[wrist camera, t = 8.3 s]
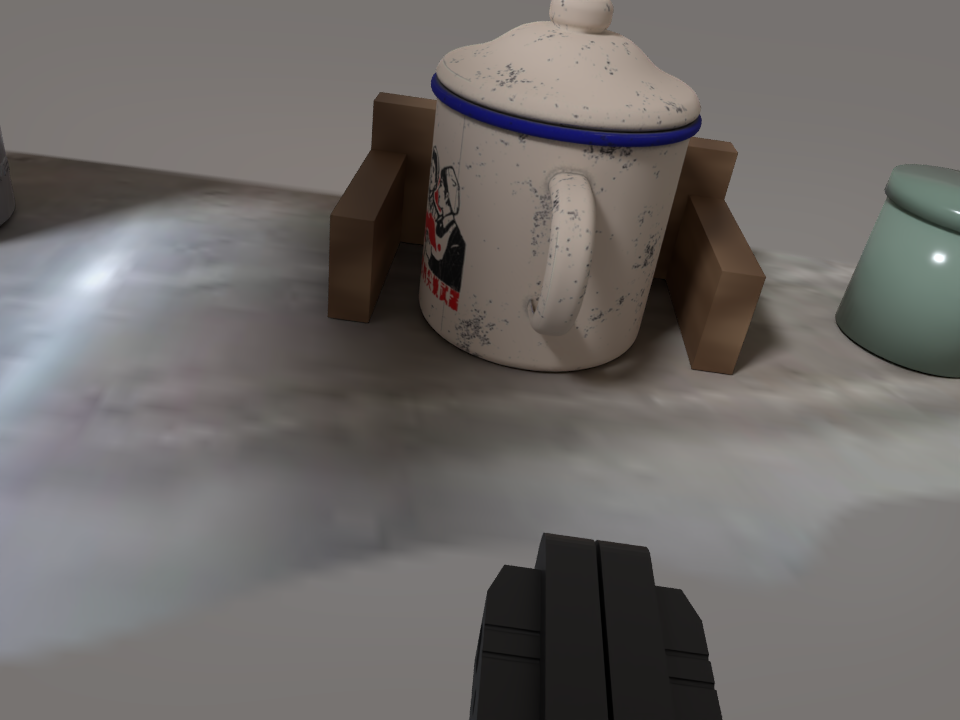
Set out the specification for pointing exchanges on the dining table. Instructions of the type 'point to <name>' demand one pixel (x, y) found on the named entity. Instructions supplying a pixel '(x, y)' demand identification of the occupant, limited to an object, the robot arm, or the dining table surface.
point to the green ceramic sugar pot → (911, 274)
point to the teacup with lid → (550, 190)
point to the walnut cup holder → (682, 260)
